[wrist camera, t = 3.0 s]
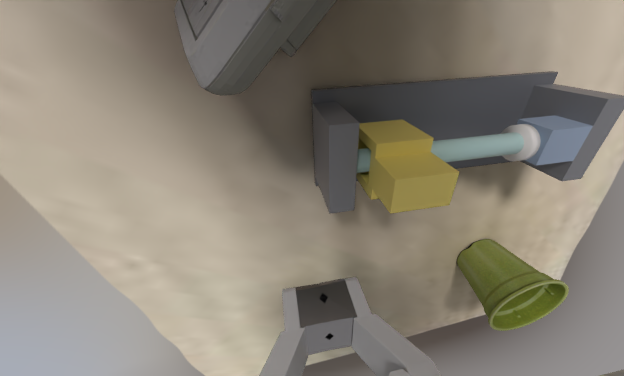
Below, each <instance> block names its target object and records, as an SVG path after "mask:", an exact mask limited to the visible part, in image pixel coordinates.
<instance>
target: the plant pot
mask: <svg viewBox="0 0 624 376" xmlns="http://www.w3.org/2000/svg"><path fill="white" fill-rule="evenodd" d="M457 264H458V266H459V268H460V269H461V271H462V273H463V274H464V276H465V277H466V279H467V280H468V282H469V284H470V285H471V287H472V289H473V290H474V292H475V293H476V295H477V297H478V298H479V300H480V302H481V303H482V305H483V307H484V311H485V313H486V315H487V316H488V318H489V319H488V322H489V324H490V326H491V327H492V328H493V329H495V330H501V331H506V330H512V329H516V328H520V327H523V326H526V325H528V324H530V323H533V322H535V321H537V320H538V319H541V318H542V317H544V316H546V315H547V314H549V313H550V312H552V311H553V310H554V309H555V308H557V307H558V306H559V305H560V304H561V303H562V302H563V301H564V300H565V298H566V297H567V295H568V291H569V288H568V286H567V285H566V284H565V283H564V282H562V281H560V280H554V279H553V278H551V277H549V276H548V275H546V274H544V273H540V272H539V271H537V270H536V269H534V268H533V267H531V266H530V265H529V264H527V263H526V262H524V261H523V260H521V259H520V258H518V257H517V256H515V255H514V254H513V253H511V252H510V251H508V250H507V249H505V248H504V247H503V246H501V245H500V244H498V243H497V242H495V241H493V240H490V239H484V240H480V241H477V242H475V243H473V244H472V246H471V247H470V248H468V249H465V250H463V251H462V252H461V254H460V255H459V257H458V260H457Z"/></svg>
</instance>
